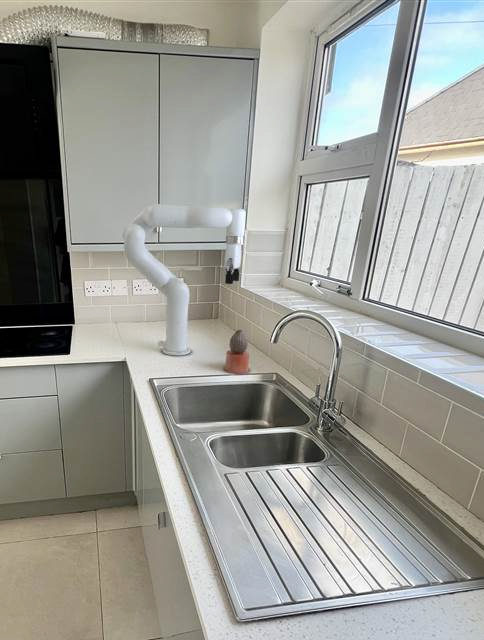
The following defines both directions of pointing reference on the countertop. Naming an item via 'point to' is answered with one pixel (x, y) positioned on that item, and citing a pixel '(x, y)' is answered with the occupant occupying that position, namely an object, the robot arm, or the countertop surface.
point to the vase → (238, 342)
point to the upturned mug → (237, 362)
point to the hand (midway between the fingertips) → (232, 282)
